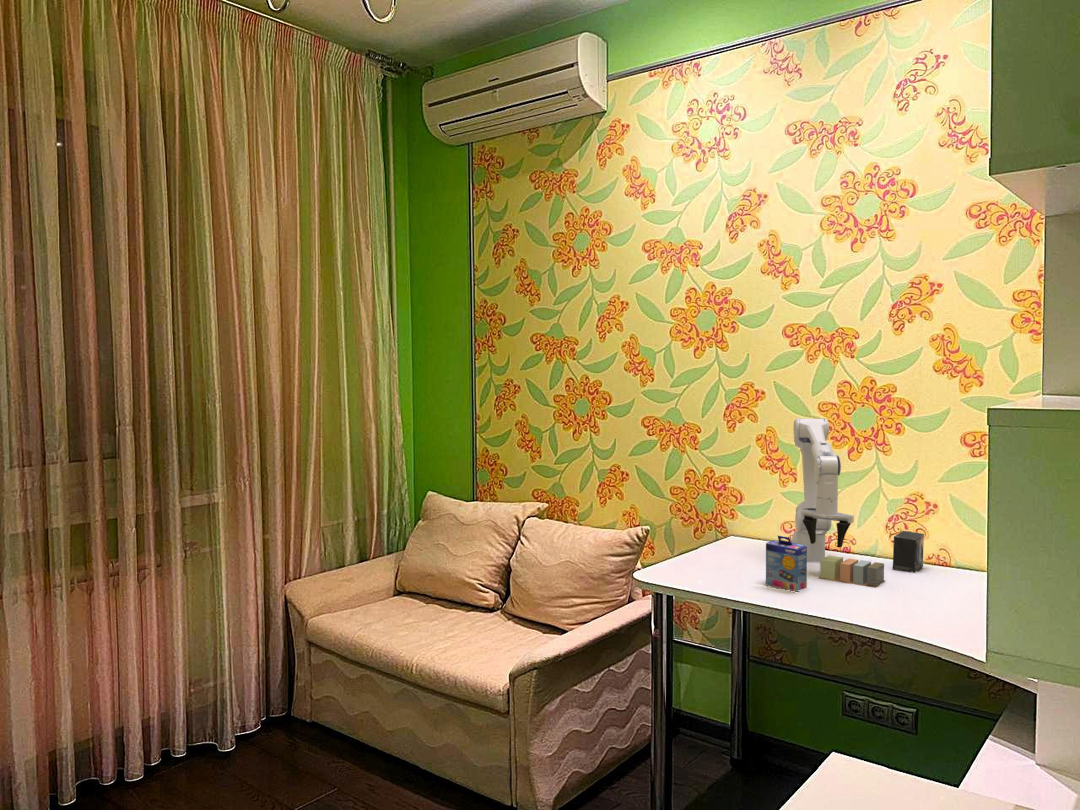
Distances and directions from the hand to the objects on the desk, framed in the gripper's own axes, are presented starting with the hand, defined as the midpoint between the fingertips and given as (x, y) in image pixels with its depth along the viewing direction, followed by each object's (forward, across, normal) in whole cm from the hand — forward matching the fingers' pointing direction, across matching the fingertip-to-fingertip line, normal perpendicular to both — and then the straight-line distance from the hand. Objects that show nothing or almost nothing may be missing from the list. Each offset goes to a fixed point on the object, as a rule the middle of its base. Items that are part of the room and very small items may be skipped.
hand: (826, 544), depth 236 cm
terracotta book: (+9, +7, 0) cm, 11 cm away
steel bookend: (+9, +14, 0) cm, 16 cm away
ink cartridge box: (+10, -5, -17) cm, 20 cm away
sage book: (+9, +2, 0) cm, 9 cm away
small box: (+10, +16, +23) cm, 30 cm away
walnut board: (+9, +7, 0) cm, 12 cm away
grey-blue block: (+9, +10, 0) cm, 13 cm away
